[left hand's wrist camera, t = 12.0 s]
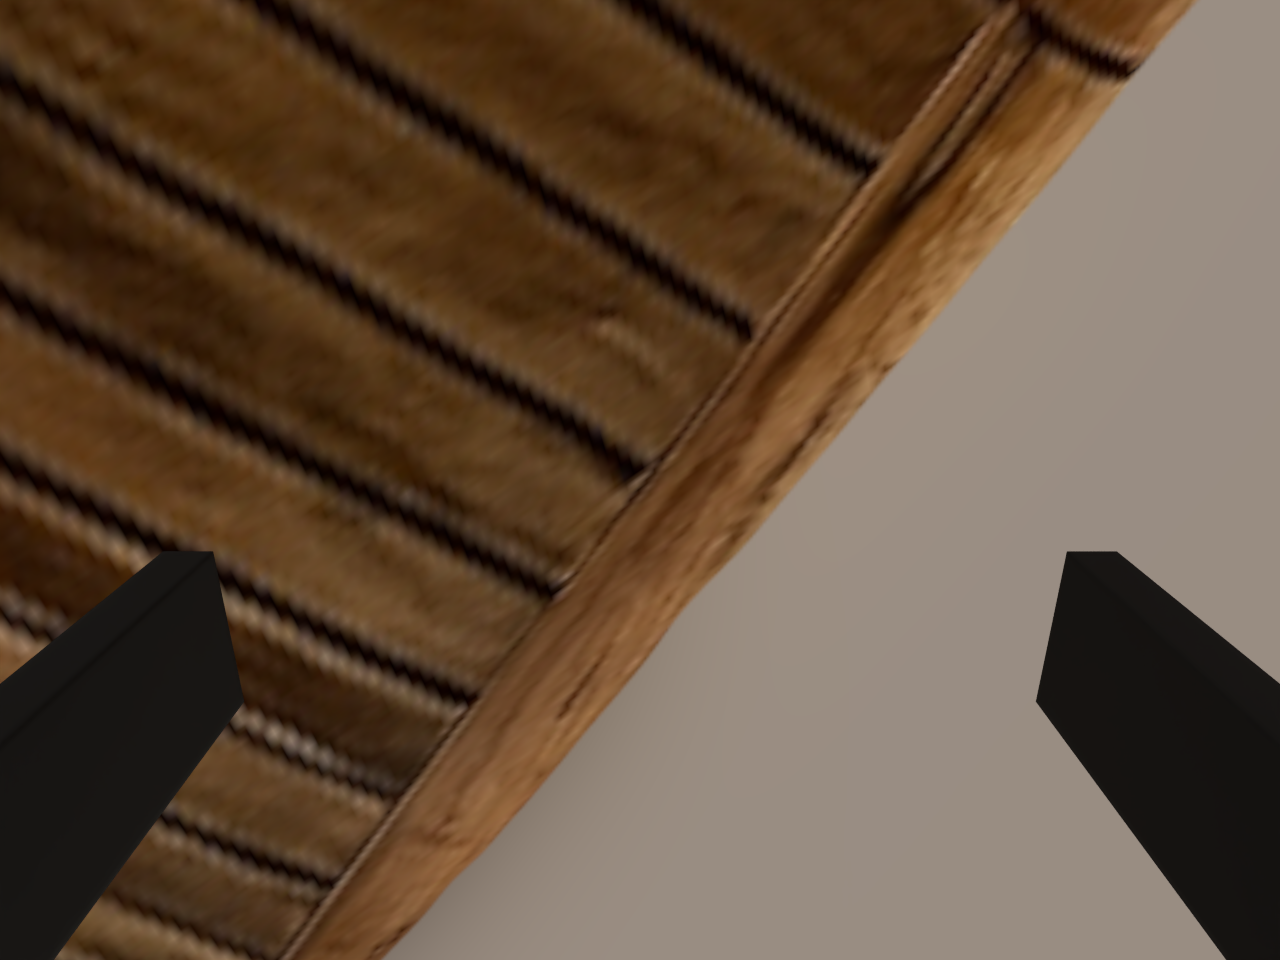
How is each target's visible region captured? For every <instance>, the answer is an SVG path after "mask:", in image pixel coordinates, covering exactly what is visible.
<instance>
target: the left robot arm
mask: <svg viewBox="0 0 1280 960" xmlns="http://www.w3.org/2000/svg"><path fill="white" fill-rule="evenodd" d="M243 702H244V699H243V694H242V689H241V685H240V680H239V675H238V670H237V665H236V660H235V655H234V651H233V646H232V641H231V636H230V631H229V626H228V622H227V617H226V612H225V607H224V602H223V597H222V593H221V588H220V583H219V578H218V573H217V568H216V564H215V559H214V554H213V552H162V553H161V554H160V555H158V556H157V557H156V558H155V559H153V560H152V561H151V562H150V563H148V564H147V565H146V566H145V567H143V568H142V569H141V570H140V571H139V572H137V573H136V574H135V575H134V576H132V577H131V578H130V579H129V580H127V581H126V582H125V583H124V584H123V585H121V586H120V587H119V588H118V589H116V590H115V591H114V592H113V593H111V594H110V595H109V596H108V597H107V598H105V599H104V600H103V601H102V602H100V603H99V604H98V605H97V606H95V607H94V608H93V609H92V610H91V611H89V612H88V613H87V614H86V615H84V616H83V617H82V618H81V619H79V620H78V621H77V622H76V623H75V624H73V625H72V626H71V627H70V628H68V629H67V630H66V631H65V632H63V633H62V634H61V635H60V636H59V637H57V638H56V639H55V640H54V641H52V642H51V643H50V644H49V645H47V646H46V647H45V648H44V649H43V650H41V651H40V652H39V653H38V654H36V655H35V656H34V657H33V658H31V659H30V660H29V661H28V662H27V663H25V664H24V665H23V666H22V667H20V668H19V669H18V670H17V671H15V672H14V673H13V674H12V675H10V676H9V677H8V678H7V679H6V680H4V681H3V682H2V683H1V684H0V960H54V959H55V957H56V956H57V955H58V953H59V952H60V951H61V949H62V948H63V947H64V945H65V944H66V942H67V941H68V940H69V938H70V937H71V936H72V934H73V933H74V932H75V930H76V929H77V928H78V926H79V925H80V923H81V922H82V921H83V919H84V918H85V917H86V915H87V914H88V913H89V911H90V910H91V909H92V907H93V906H94V904H95V903H96V902H97V900H98V899H99V898H100V896H101V895H102V894H103V892H104V891H105V890H106V888H107V887H108V885H109V884H110V883H111V881H112V880H113V879H114V877H115V876H116V875H117V873H118V872H119V871H120V869H121V868H122V866H123V865H124V864H125V862H126V861H127V860H128V858H129V857H130V856H131V854H132V853H133V852H134V850H135V849H136V848H137V846H138V845H139V843H140V842H141V841H142V839H143V838H144V837H145V835H146V834H147V833H148V831H149V830H150V829H151V827H152V826H153V824H154V823H155V822H156V820H157V819H158V818H159V816H160V815H161V814H162V812H163V811H164V810H165V808H166V807H167V805H168V804H169V803H170V801H171V800H172V799H173V797H174V796H175V795H176V793H177V792H178V791H179V789H180V788H181V786H182V785H183V784H184V782H185V781H186V780H187V778H188V777H189V776H190V774H191V773H192V772H193V770H194V769H195V767H196V766H197V765H198V763H199V762H200V761H201V759H202V758H203V757H204V755H205V754H206V753H207V751H208V750H209V748H210V747H211V746H212V744H213V743H214V742H215V740H216V739H217V738H218V736H219V735H220V734H221V732H222V731H223V729H224V728H225V727H226V725H227V724H228V723H229V721H230V720H231V719H232V717H233V716H234V715H235V713H236V712H237V710H238V709H239V708H240V706H241V705H242V704H243ZM1036 702H1037V704H1038V705H1039V706H1040V708H1041V709H1042V710H1043V712H1044V713H1045V715H1046V716H1047V717H1048V719H1049V720H1050V721H1051V723H1052V724H1053V725H1054V727H1055V728H1056V729H1057V731H1058V732H1059V733H1060V735H1061V736H1062V738H1063V739H1064V740H1065V742H1066V743H1067V744H1068V746H1069V747H1070V748H1071V750H1072V751H1073V753H1074V754H1075V755H1076V757H1077V758H1078V759H1079V761H1080V762H1081V763H1082V765H1083V766H1084V767H1085V769H1086V770H1087V771H1088V773H1089V774H1090V776H1091V777H1092V778H1093V780H1094V781H1095V782H1096V784H1097V785H1098V786H1099V788H1100V789H1101V791H1102V792H1103V793H1104V795H1105V796H1106V797H1107V799H1108V800H1109V801H1110V803H1111V804H1112V805H1113V807H1114V808H1115V810H1116V811H1117V812H1118V814H1119V815H1120V816H1121V818H1122V819H1123V820H1124V822H1125V823H1126V824H1127V826H1128V827H1129V828H1130V830H1131V831H1132V833H1133V834H1134V835H1135V837H1136V838H1137V839H1138V841H1139V842H1140V843H1141V845H1142V846H1143V848H1144V849H1145V850H1146V852H1147V853H1148V854H1149V856H1150V857H1151V858H1152V860H1153V861H1154V862H1155V864H1156V865H1157V867H1158V868H1159V869H1160V871H1161V872H1162V873H1163V875H1164V876H1165V877H1166V879H1167V880H1168V881H1169V883H1170V884H1171V885H1172V887H1173V888H1174V890H1175V891H1176V892H1177V894H1178V895H1179V896H1180V898H1181V899H1182V900H1183V902H1184V903H1185V904H1186V906H1187V907H1188V909H1189V910H1190V911H1191V913H1192V914H1193V915H1194V917H1195V918H1196V919H1197V921H1198V922H1199V923H1200V925H1201V926H1202V928H1203V929H1204V930H1205V932H1206V933H1207V934H1208V936H1209V937H1210V938H1211V940H1212V941H1213V942H1214V944H1215V945H1216V947H1217V948H1218V949H1219V951H1220V952H1221V953H1222V955H1223V956H1224V957H1225V959H1226V960H1280V684H1279V683H1278V682H1277V681H1276V680H1274V679H1273V678H1272V677H1271V676H1269V675H1268V674H1267V673H1266V672H1265V671H1263V670H1262V669H1261V668H1260V667H1258V666H1257V665H1256V664H1255V663H1253V662H1252V661H1251V660H1250V659H1249V658H1247V657H1246V656H1245V655H1244V654H1242V653H1241V652H1240V651H1239V650H1237V649H1236V648H1235V647H1234V646H1233V645H1231V644H1230V643H1229V642H1228V641H1226V640H1225V639H1224V638H1223V637H1221V636H1220V635H1219V634H1218V633H1216V632H1215V631H1214V630H1213V629H1212V628H1210V627H1209V626H1208V625H1207V624H1205V623H1204V622H1203V621H1202V620H1201V619H1199V618H1198V617H1197V616H1196V615H1194V614H1193V613H1192V612H1191V611H1189V610H1188V609H1187V608H1186V607H1185V606H1183V605H1182V604H1181V603H1180V602H1178V601H1177V600H1176V599H1175V598H1173V597H1172V596H1171V595H1170V594H1169V593H1167V592H1166V591H1165V590H1164V589H1162V588H1161V587H1160V586H1159V585H1157V584H1156V583H1155V582H1154V581H1153V580H1151V579H1150V578H1149V577H1148V576H1146V575H1145V574H1144V573H1143V572H1141V571H1140V570H1139V569H1138V568H1136V567H1135V566H1134V565H1133V564H1132V563H1130V562H1129V561H1128V560H1127V559H1125V558H1124V557H1123V556H1122V555H1120V554H1119V553H1118V552H1067V554H1066V559H1065V564H1064V569H1063V573H1062V578H1061V583H1060V588H1059V593H1058V598H1057V602H1056V607H1055V612H1054V617H1053V622H1052V627H1051V631H1050V636H1049V641H1048V646H1047V651H1046V656H1045V661H1044V665H1043V670H1042V675H1041V680H1040V685H1039V689H1038V694H1037V699H1036Z"/></svg>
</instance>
